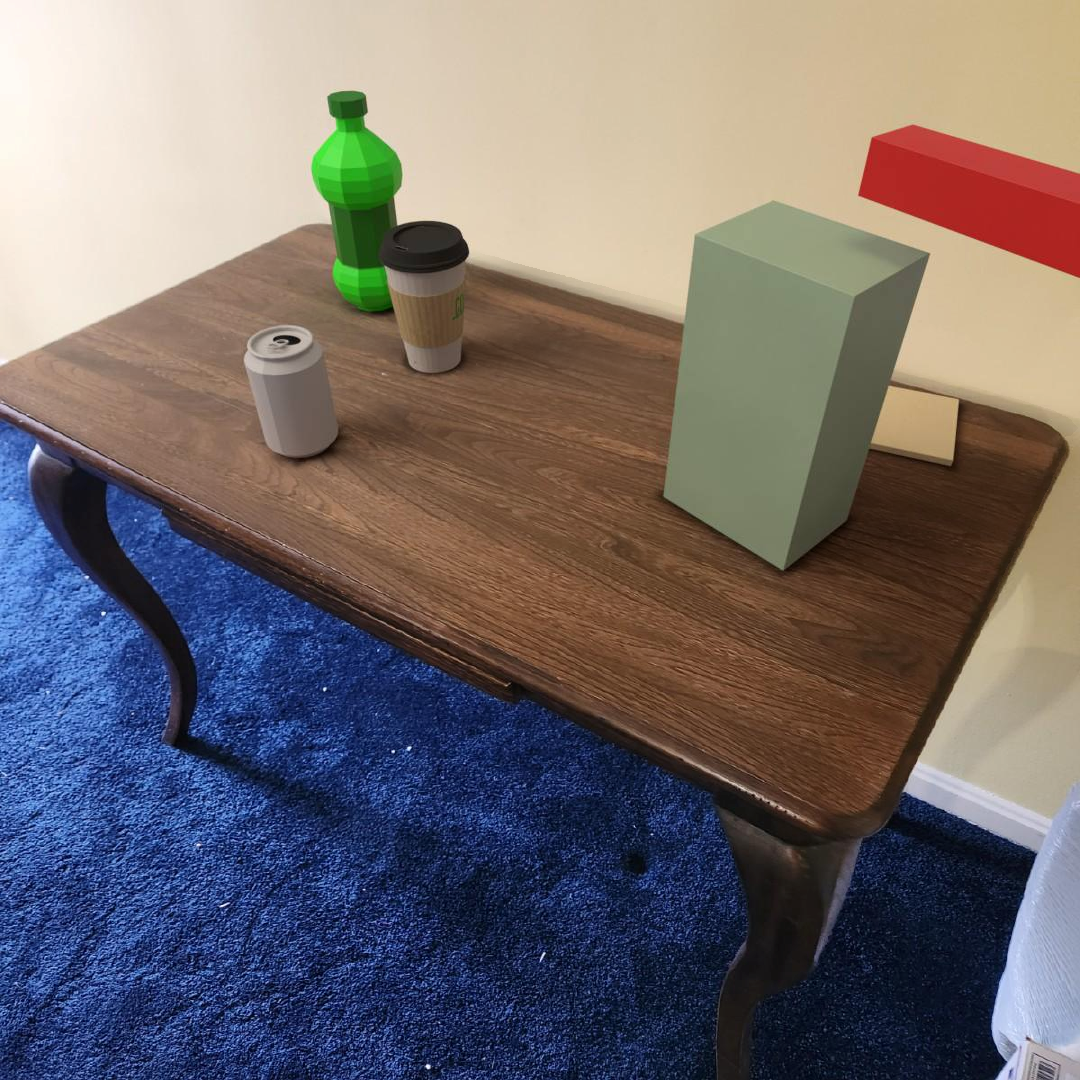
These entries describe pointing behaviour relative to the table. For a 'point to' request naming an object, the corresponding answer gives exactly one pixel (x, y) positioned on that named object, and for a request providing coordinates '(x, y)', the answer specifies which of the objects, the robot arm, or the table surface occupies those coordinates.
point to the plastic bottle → (358, 200)
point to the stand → (784, 373)
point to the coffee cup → (427, 290)
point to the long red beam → (978, 193)
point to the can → (291, 391)
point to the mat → (917, 425)
